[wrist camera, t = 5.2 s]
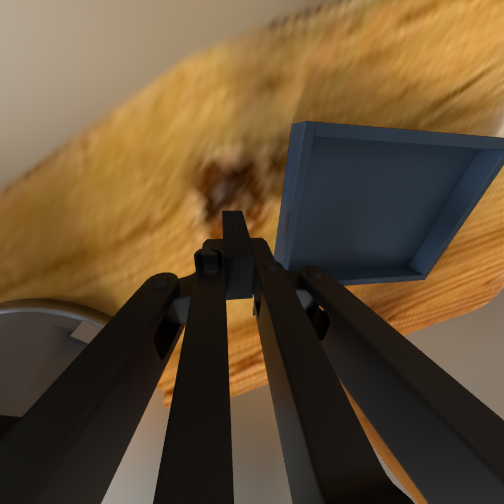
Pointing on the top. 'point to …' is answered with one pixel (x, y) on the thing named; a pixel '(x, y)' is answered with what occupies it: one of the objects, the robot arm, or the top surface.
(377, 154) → the tray
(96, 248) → the top surface
